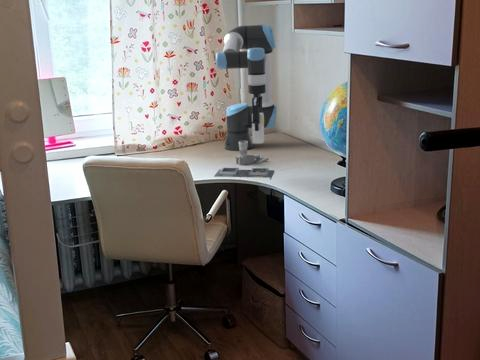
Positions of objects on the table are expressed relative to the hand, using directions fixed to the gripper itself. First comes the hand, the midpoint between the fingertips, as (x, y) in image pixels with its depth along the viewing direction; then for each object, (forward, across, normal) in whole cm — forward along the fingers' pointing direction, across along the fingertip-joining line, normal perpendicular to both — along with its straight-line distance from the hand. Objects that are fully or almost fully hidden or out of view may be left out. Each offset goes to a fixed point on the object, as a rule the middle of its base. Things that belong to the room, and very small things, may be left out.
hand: (258, 136), depth 285 cm
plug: (+3, 0, 0) cm, 3 cm away
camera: (+19, -21, -8) cm, 29 cm away
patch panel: (+18, 0, -7) cm, 20 cm away
